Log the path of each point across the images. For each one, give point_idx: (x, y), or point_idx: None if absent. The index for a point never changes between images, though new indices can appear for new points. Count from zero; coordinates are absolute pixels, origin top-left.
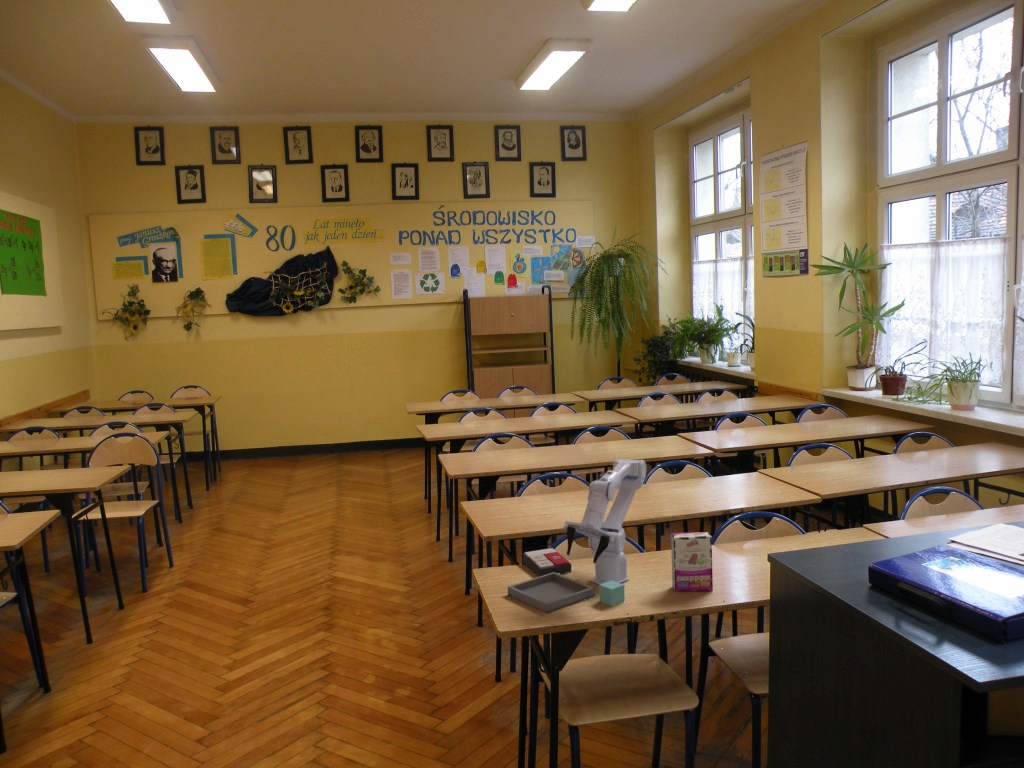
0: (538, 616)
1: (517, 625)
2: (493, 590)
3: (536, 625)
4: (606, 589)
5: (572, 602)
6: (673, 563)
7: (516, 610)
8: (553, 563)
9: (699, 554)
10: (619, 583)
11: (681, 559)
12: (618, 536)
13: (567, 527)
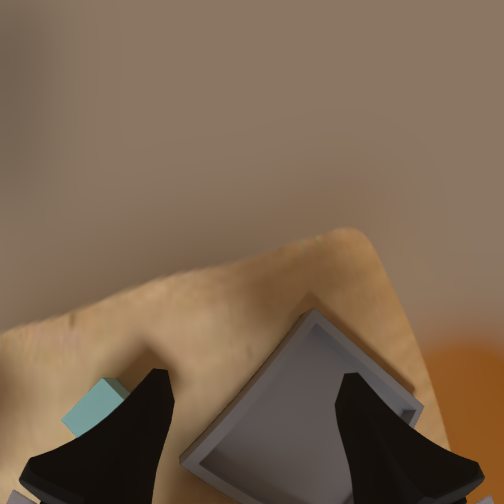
0: (318, 291)
1: (346, 241)
2: (434, 419)
3: (309, 241)
4: (124, 399)
5: (244, 387)
6: None
7: (373, 321)
8: None
9: None
10: (78, 435)
11: None
12: None
13: (481, 474)
